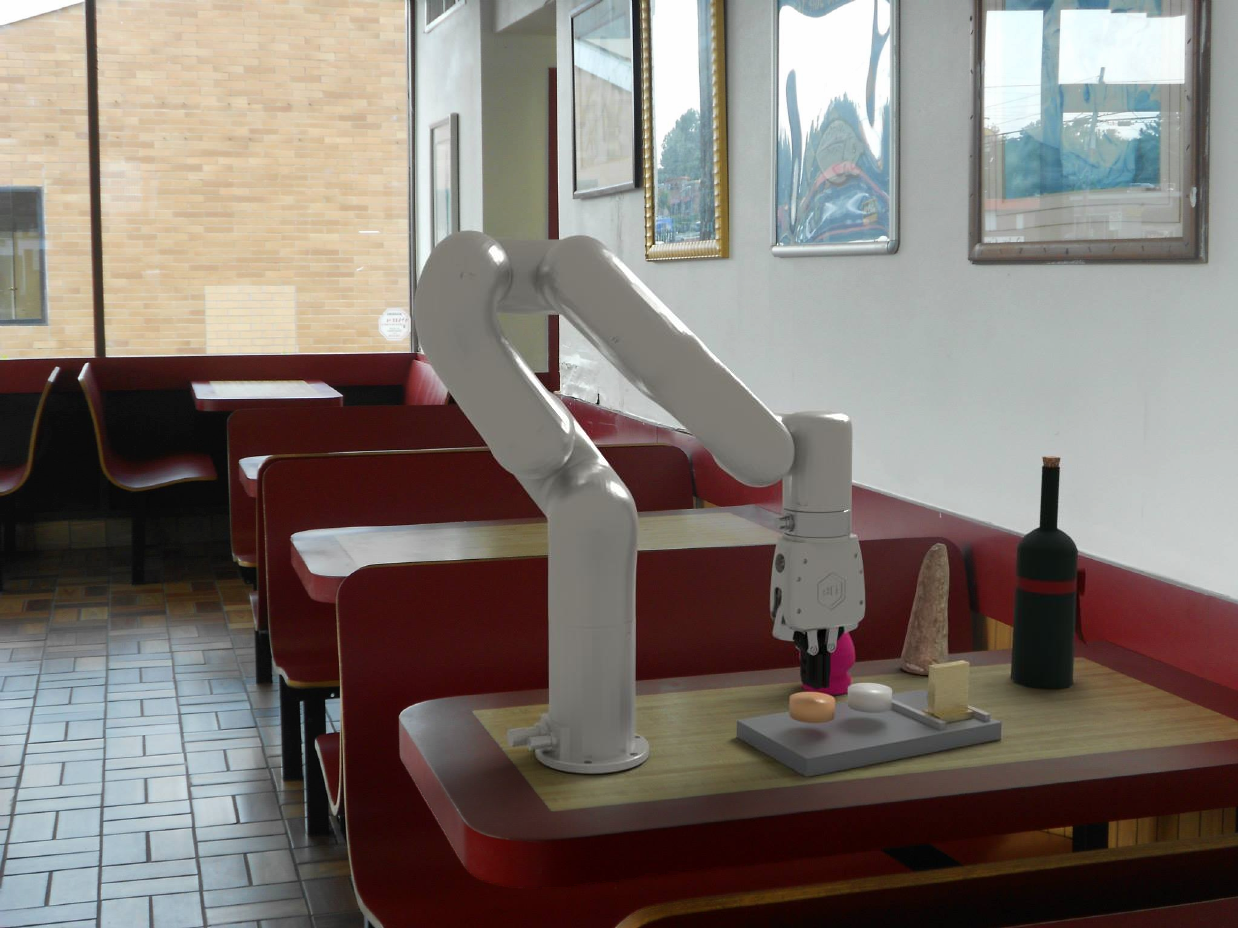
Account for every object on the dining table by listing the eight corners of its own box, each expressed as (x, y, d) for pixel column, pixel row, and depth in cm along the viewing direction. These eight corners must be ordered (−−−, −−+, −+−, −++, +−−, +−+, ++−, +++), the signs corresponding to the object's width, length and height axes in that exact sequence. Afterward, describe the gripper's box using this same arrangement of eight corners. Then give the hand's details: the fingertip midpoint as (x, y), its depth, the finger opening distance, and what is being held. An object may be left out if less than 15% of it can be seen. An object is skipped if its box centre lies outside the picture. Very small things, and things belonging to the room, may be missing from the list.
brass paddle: (939, 724, 144) (941, 670, 143) (922, 716, 147) (923, 663, 146) (973, 717, 146) (975, 664, 146) (955, 710, 149) (957, 658, 148)
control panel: (806, 776, 133) (807, 751, 133) (736, 736, 146) (736, 713, 146) (1001, 738, 145) (1001, 715, 145) (921, 704, 158) (921, 683, 157)
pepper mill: (852, 680, 168) (855, 532, 166) (856, 697, 161) (860, 543, 158) (797, 679, 169) (800, 531, 166) (799, 695, 162) (802, 541, 159)
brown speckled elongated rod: (948, 682, 170) (942, 671, 176) (973, 552, 168) (966, 545, 174) (901, 674, 170) (896, 662, 176) (925, 544, 169) (920, 537, 175)
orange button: (806, 725, 138) (806, 707, 138) (780, 712, 143) (781, 695, 143) (843, 718, 141) (843, 701, 140) (817, 706, 145) (817, 689, 145)
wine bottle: (1100, 685, 166) (1112, 459, 162) (1031, 691, 164) (1041, 461, 160) (1065, 669, 174) (1075, 452, 170) (999, 674, 171) (1008, 454, 168)
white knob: (865, 715, 142) (865, 697, 142) (838, 702, 146) (838, 686, 146) (900, 709, 144) (901, 692, 144) (873, 697, 148) (873, 680, 148)
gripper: (778, 535, 132) (777, 704, 135) (892, 523, 139) (890, 684, 141) (740, 524, 139) (740, 686, 141) (851, 513, 146) (849, 668, 148)
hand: (815, 685), depth 141 cm, fingers closed
